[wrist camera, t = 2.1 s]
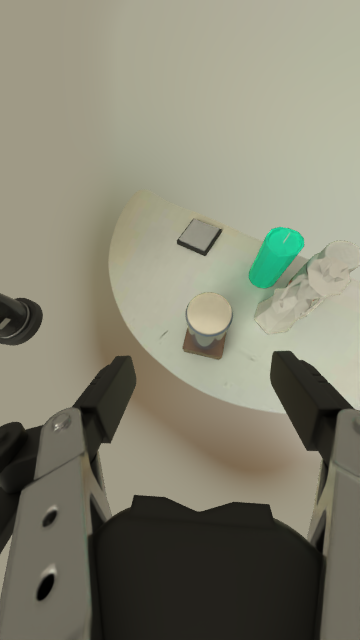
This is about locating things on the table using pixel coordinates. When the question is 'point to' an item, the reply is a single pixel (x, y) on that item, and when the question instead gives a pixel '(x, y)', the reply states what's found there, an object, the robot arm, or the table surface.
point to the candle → (275, 256)
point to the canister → (208, 319)
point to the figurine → (302, 295)
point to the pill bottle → (338, 250)
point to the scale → (199, 236)
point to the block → (211, 353)
